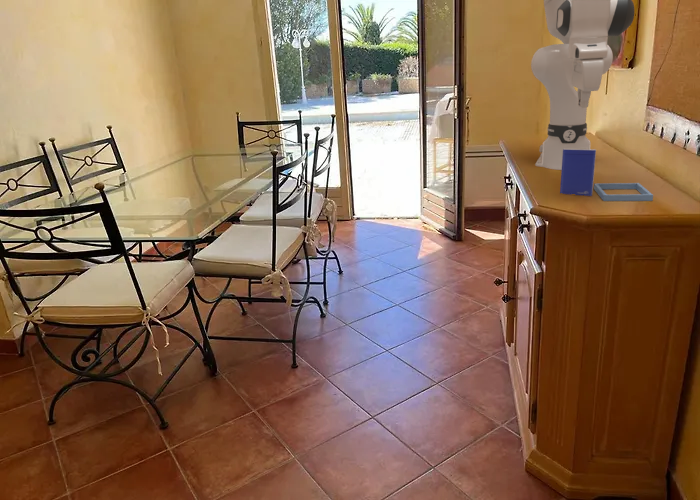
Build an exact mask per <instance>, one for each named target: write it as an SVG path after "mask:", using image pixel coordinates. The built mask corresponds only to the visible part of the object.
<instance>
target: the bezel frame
mask: <svg viewBox="0 0 700 500" xmlns="http://www.w3.org/2000/svg"><path fill="white" fill-rule="evenodd" d="M604 190H637V192H638V193H637V194H632V193H631V194H630V193H629V194H627V193H626V194H607V193H606V192H605V191H604ZM593 191H595V192H596V194H597V195H598V196H599V197H600V199H601V200H602V201H603V202H630V201H631V202H634V201H635V202H639V201H641V202H649V201H650V202H651V201H652V202H653V200H654V199H653V198H654V194H653V193H651V192H650V191H649V190H648V189H647V188H646V187H644V185H642V184H641V183H640V182H627V183H626V182H625V183H624V182H623V183H622V182H615V183H613V182H612V183H609V182H608V183H593ZM639 193H640V194H639Z"/></svg>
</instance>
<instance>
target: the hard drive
mask: <svg viewBox="0 0 700 500" xmlns="http://www.w3.org/2000/svg"><path fill="white" fill-rule="evenodd" d="M596 154H597V149H596V148H594V149H591V148H590V149H563V157H562V170H560V171H561V172H560V173H561V175H560V189H559V194H561V193H562V194H564V195H572V194H575V195H574V196H583V195H584V196H585V197H586V196H587V197H592V196H593V191H594V179H595V168H596V157H597V156H596ZM562 194H561V195H562Z"/></svg>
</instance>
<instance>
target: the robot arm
mask: <svg viewBox="0 0 700 500" xmlns="http://www.w3.org/2000/svg"><path fill="white" fill-rule="evenodd" d="M543 6H544V13H545V20H546V26H547V30H548V32H549V34H550V35H551V36H552V37H554V38H555V39H558V40H559V41H561V43H558V44H557V43H556V44H554V43H553V44H550V45H547V46H543V47H540V48H538V49H537V50H536V51H535V52H534V54H533V56H532V58H531V61H530V67H531V72H532V74H533V76H534V77H535V78H536V79H537V80H538V81H539V82H540V83H541V84H542V85H543V86H544V88H545V89H546V92H547V95H548V97H549V123H548V126H547V137H546V138H545V140H544V141H543V142H542V144H540V146H539V153H540V156H539V157H538V159H537V161H536V162H535V164H534V165H535V166H536V167H541V168H546V169H551V170H557V171H558V170H560V171H562V157H563V149H591V140H590V139H589V138H588V137H587V136H586V135H587V132H588V124H587V110H588V107H589V102H590V98H591V95H592V94H591V93H592V92H598V91H599V89H600V86H601V85H602V77H603V75H605V74H606V73H607V72H608V71H609V70H610V68H611V67H612V64H613V60H614V55H613V51H612V48H611V47H610V46H609V44H608V40H609V39H608V38H609V37H619V36H620V35H622V34H623V33H625V31H627V30H628V28H629V27H630V26H631V25H632V23H633V22H634V18H635V5H634V2H633V0H543ZM576 89H577V90H576Z"/></svg>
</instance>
